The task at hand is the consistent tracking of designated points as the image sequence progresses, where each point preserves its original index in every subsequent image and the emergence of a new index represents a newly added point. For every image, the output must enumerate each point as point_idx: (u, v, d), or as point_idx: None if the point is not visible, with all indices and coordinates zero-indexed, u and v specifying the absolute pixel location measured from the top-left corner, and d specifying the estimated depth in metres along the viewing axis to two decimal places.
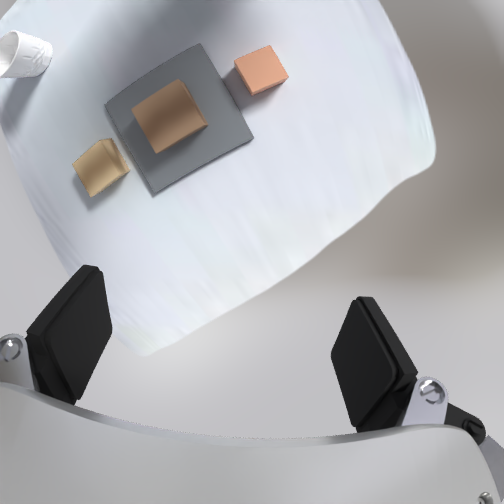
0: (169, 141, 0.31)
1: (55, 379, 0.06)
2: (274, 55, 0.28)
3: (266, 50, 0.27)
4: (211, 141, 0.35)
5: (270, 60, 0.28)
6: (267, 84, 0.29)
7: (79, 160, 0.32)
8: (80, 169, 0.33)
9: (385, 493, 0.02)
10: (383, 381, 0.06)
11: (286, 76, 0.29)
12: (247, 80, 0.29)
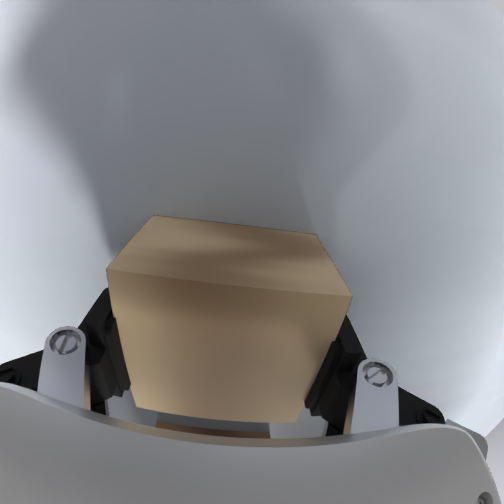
0: None
1: (110, 370, 0.07)
2: None
3: None
4: None
5: None
6: None
7: (322, 340, 0.07)
8: (284, 320, 0.07)
9: (385, 493, 0.02)
10: (328, 360, 0.07)
11: None
12: None
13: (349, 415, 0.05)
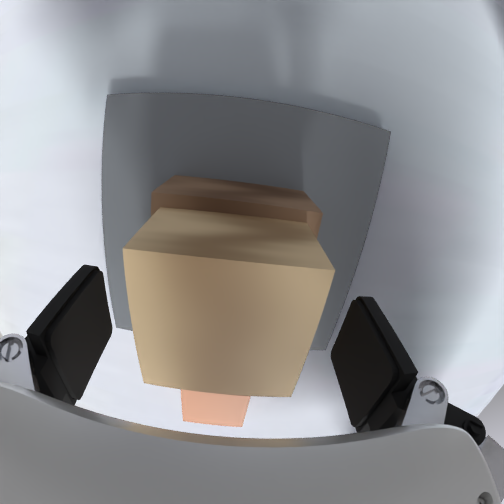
0: None
1: (55, 379, 0.06)
2: (223, 424, 0.20)
3: (236, 422, 0.20)
4: None
5: (218, 420, 0.19)
6: (183, 404, 0.18)
7: (311, 311, 0.08)
8: (276, 292, 0.08)
9: (385, 493, 0.02)
10: (383, 381, 0.06)
11: (185, 419, 0.19)
12: (204, 393, 0.18)
13: (398, 425, 0.05)
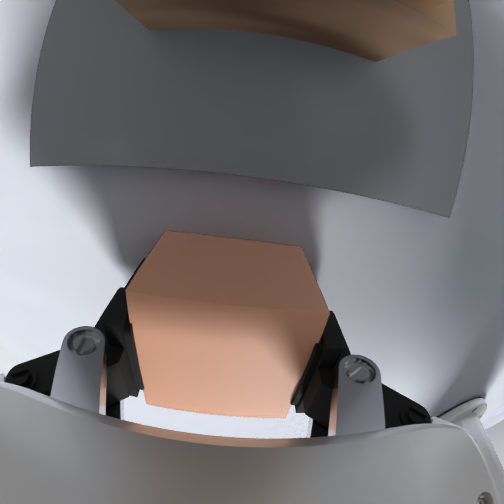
0: None
1: (128, 370, 0.07)
2: (242, 413, 0.08)
3: (275, 406, 0.08)
4: (93, 20, 0.05)
5: (231, 402, 0.08)
6: (140, 352, 0.07)
7: None
8: None
9: (385, 493, 0.02)
10: (310, 356, 0.07)
11: (150, 401, 0.08)
12: (194, 307, 0.06)
13: (333, 414, 0.05)
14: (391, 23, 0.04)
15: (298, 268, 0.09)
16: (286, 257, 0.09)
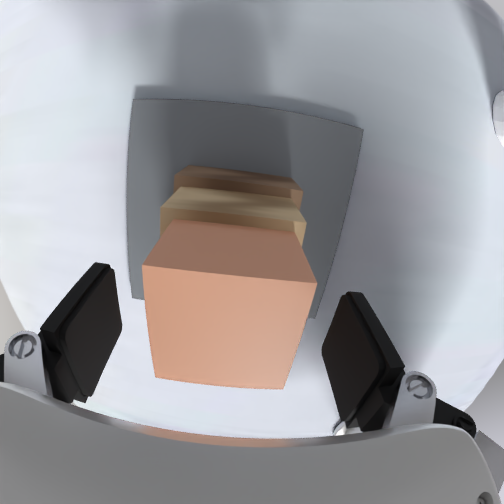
0: None
1: (68, 376, 0.06)
2: (243, 384, 0.10)
3: (273, 376, 0.10)
4: (154, 245, 0.20)
5: (233, 372, 0.09)
6: (152, 323, 0.08)
7: None
8: None
9: (385, 493, 0.02)
10: (370, 375, 0.07)
11: (159, 374, 0.09)
12: (201, 278, 0.08)
13: (387, 421, 0.05)
14: None
15: (291, 249, 0.10)
16: (281, 240, 0.10)
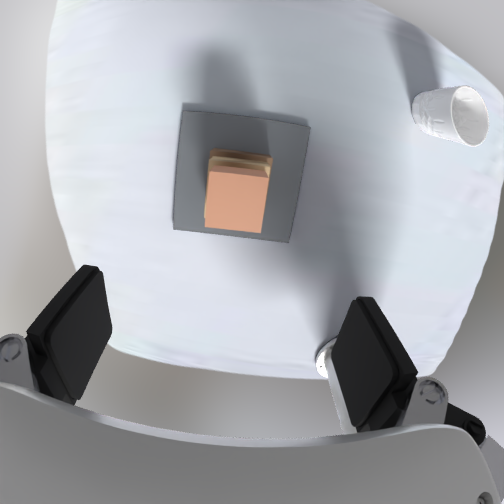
0: None
1: (55, 379, 0.06)
2: (243, 228, 0.25)
3: (255, 223, 0.24)
4: (191, 193, 0.35)
5: (239, 220, 0.24)
6: (209, 195, 0.23)
7: None
8: None
9: (385, 493, 0.02)
10: (383, 381, 0.06)
11: (206, 224, 0.24)
12: (229, 175, 0.22)
13: (398, 425, 0.05)
14: None
15: (262, 173, 0.25)
16: (258, 171, 0.25)
